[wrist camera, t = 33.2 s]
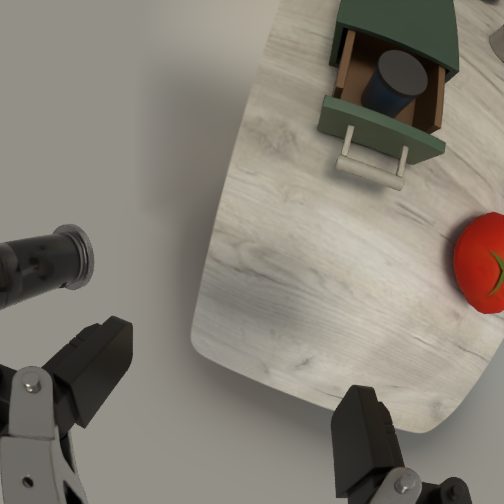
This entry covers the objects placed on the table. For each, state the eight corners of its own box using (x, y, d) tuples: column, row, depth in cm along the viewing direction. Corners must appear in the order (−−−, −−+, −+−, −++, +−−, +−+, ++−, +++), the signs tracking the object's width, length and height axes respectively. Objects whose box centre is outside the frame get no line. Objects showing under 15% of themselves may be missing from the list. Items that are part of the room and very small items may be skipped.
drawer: (404, 201, 29) (435, 199, 21) (307, 167, 31) (309, 153, 23) (425, 76, 26) (451, 49, 18) (338, 43, 27) (345, 7, 19)
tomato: (451, 199, 29) (488, 198, 20) (509, 225, 27) (545, 230, 19) (428, 293, 31) (459, 316, 23) (488, 307, 29) (520, 328, 21)
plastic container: (356, 113, 28) (374, 81, 19) (364, 79, 27) (381, 42, 18) (395, 128, 27) (425, 104, 18) (401, 94, 26) (429, 63, 17)
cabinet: (425, 100, 27) (459, 71, 17) (328, 65, 29) (336, 21, 19) (428, 29, 24) (452, -6, 15) (344, -2, 26) (351, -45, 16)
